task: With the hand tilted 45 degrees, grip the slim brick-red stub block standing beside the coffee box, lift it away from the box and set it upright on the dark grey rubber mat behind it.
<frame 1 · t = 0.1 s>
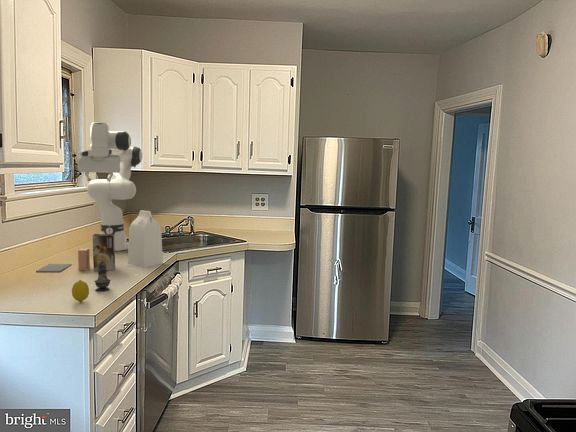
hand: (99, 181, 231), 39 cm above the worktop, tool pointing down, fingers open, 8 cm apart
mat: (54, 268, 209), on the worktop
stub: (84, 268, 211), on the worktop
dark ornate vase: (102, 290, 178), on the worktop
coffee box: (104, 269, 212), on the worktop
milk: (145, 263, 225), on the worktop
lemon: (80, 302, 162), on the worktop
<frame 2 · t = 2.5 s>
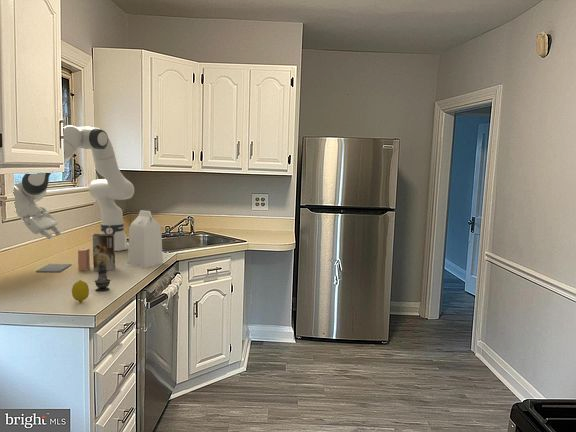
hand: (55, 236, 208), 15 cm above the worktop, tool tilted 45°, fingers open, 8 cm apart
nothing on the worktop moved.
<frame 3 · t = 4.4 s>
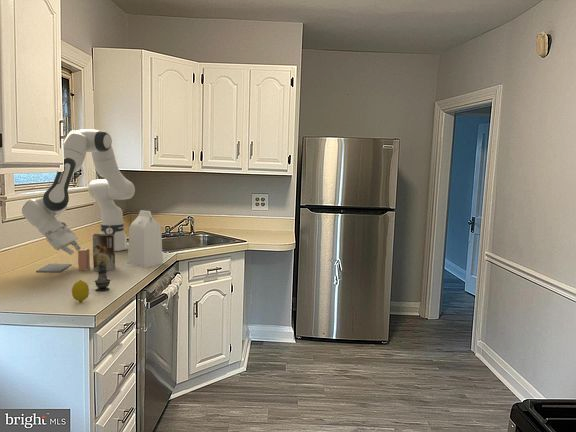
hand: (76, 251, 209), 8 cm above the worktop, tool tilted 45°, fingers open, 8 cm apart
nothing on the worktop moved.
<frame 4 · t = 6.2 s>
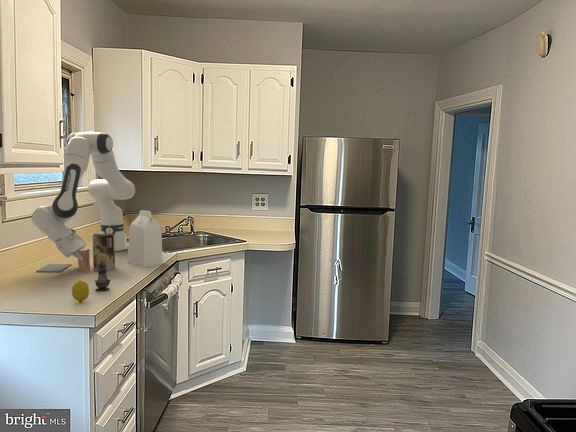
hand: (85, 258, 210), 5 cm above the worktop, tool tilted 45°, fingers closed on stub, 4 cm apart
stub: (84, 268, 211), on the worktop, touching gripper
everything else where it was.
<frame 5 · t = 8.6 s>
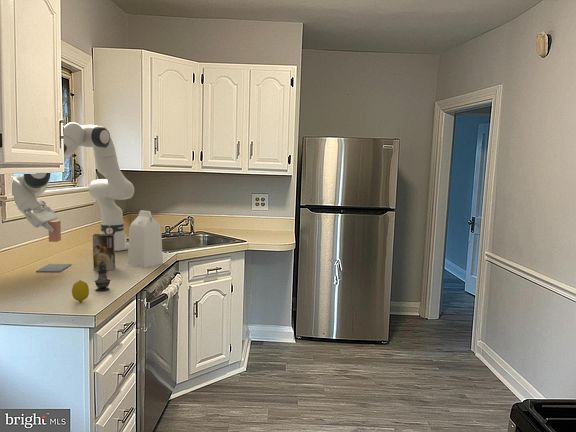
hand: (56, 230, 207), 18 cm above the worktop, tool tilted 45°, fingers closed on stub, 4 cm apart
stub: (54, 240, 208), point 13 cm above the worktop, touching gripper
everything else where it was.
when the fingers open (7 cm above the worktop, at t = 11.0 s): stub drops 1 cm, resting on mat.
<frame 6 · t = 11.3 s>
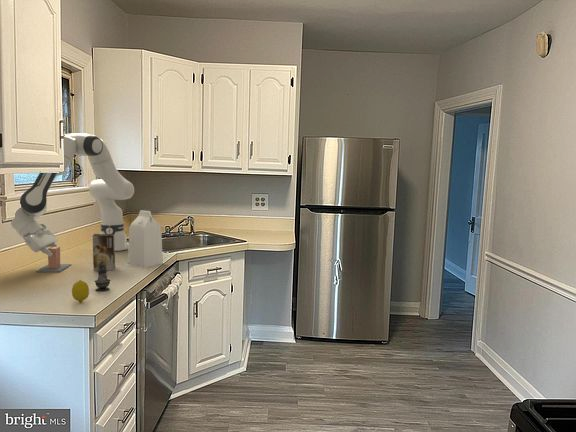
hand: (55, 253, 209), 7 cm above the worktop, tool tilted 45°, fingers open, 7 cm apart
stub: (54, 267, 209), point 1 cm above the worktop, touching mat
everything else where it was.
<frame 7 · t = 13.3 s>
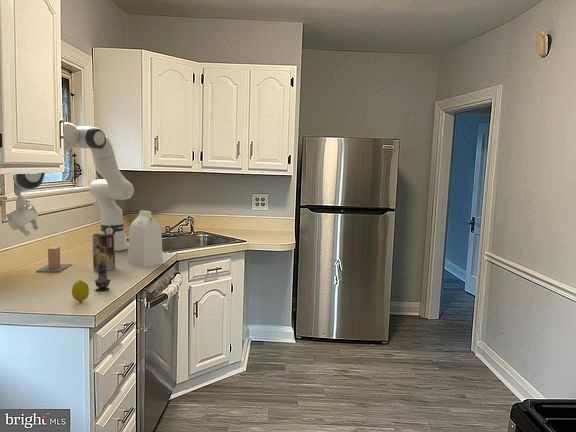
hand: (32, 232, 209), 16 cm above the worktop, tool tilted 30°, fingers open, 8 cm apart
nothing on the worktop moved.
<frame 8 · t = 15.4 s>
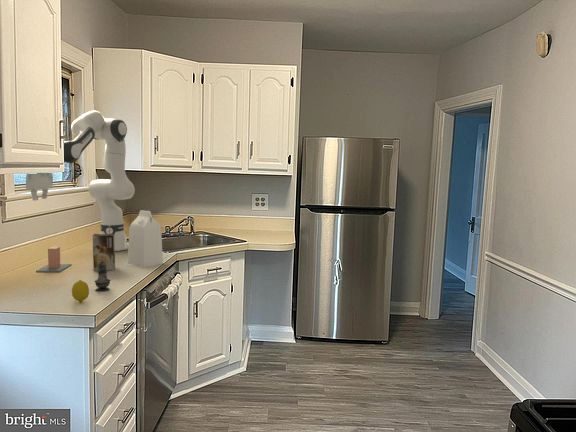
hand: (40, 199, 209), 31 cm above the worktop, tool pointing down, fingers open, 8 cm apart
nothing on the worktop moved.
at the end: stub inside the target area on the mat (0.1 cm from its centre), point 0.6 cm above the mat's base; stub tilted 0°; the gripper is holding nothing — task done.
